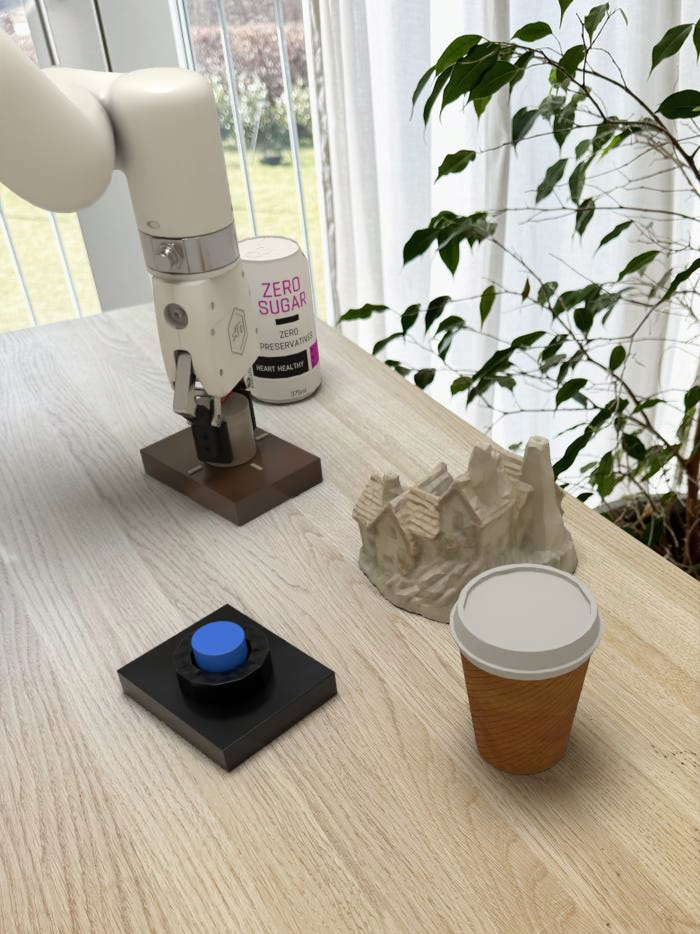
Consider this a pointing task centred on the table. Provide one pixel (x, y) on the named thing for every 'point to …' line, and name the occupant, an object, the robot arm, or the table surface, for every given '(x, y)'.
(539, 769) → the disposable coffee cup
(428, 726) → the table surface
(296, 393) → the white soda can
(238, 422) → the dimmer knob
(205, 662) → the light button
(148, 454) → the panel
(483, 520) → the ceramic cottage
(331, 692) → the switch block
